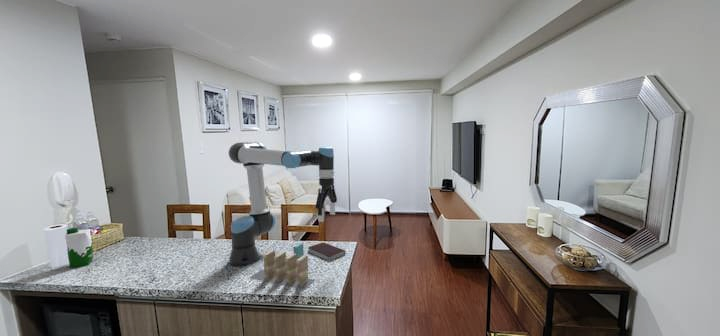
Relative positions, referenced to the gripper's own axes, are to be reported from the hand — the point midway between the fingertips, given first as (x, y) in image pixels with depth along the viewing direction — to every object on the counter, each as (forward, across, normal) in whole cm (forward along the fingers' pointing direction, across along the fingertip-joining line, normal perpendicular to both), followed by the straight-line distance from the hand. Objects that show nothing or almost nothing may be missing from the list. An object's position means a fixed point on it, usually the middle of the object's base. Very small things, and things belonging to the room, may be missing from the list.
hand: (327, 217), depth 145 cm
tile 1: (+25, -22, +2) cm, 33 cm away
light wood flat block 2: (+25, -22, +8) cm, 34 cm away
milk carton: (+27, -42, +126) cm, 135 cm away
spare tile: (+25, -8, +12) cm, 29 cm away
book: (+26, +13, +7) cm, 30 cm away
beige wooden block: (+25, -22, +14) cm, 36 cm away
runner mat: (+25, -22, +13) cm, 36 cm away
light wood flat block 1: (+25, -22, +20) cm, 39 cm away
